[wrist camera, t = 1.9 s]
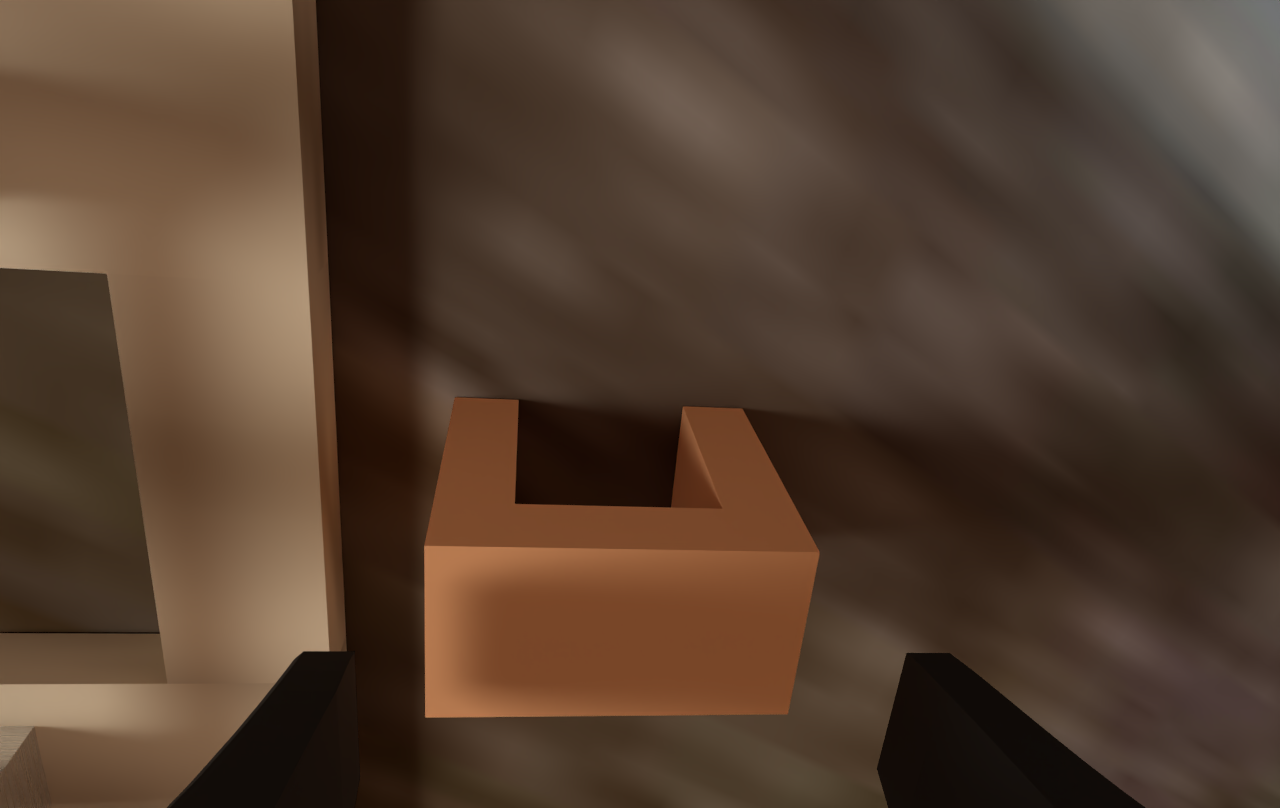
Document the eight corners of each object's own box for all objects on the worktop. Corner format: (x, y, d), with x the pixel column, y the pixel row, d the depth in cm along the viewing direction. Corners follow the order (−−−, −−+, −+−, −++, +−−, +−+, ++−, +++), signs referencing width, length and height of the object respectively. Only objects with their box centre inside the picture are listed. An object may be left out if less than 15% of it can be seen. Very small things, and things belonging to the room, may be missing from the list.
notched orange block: (723, 538, 19) (788, 714, 14) (453, 533, 18) (425, 718, 13) (742, 408, 18) (820, 552, 13) (455, 397, 17) (424, 545, 12)
